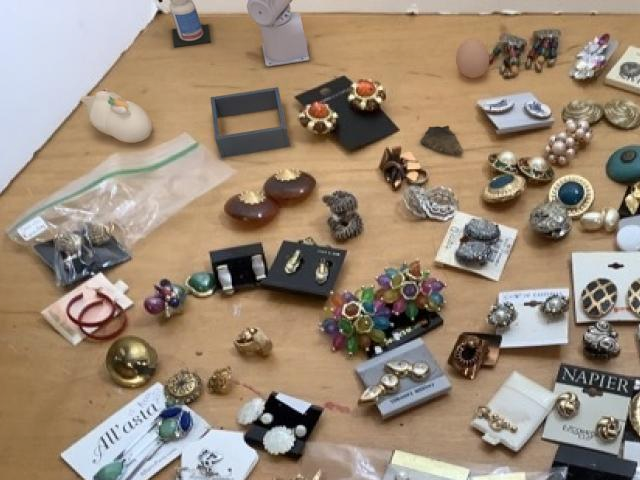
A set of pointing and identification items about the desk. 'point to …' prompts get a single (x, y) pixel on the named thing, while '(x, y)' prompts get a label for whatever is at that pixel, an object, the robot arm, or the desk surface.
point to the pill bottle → (186, 19)
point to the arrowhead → (442, 140)
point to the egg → (472, 58)
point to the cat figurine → (117, 116)
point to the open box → (250, 139)
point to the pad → (203, 39)
